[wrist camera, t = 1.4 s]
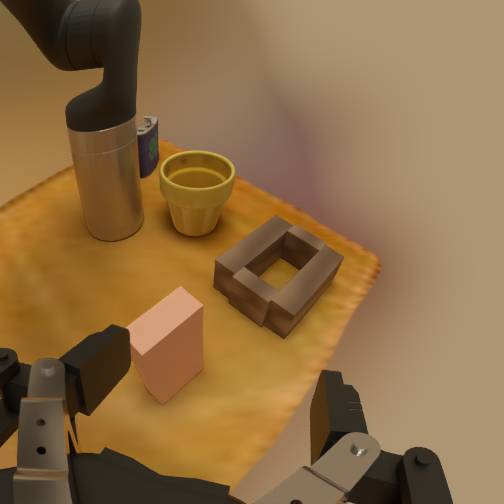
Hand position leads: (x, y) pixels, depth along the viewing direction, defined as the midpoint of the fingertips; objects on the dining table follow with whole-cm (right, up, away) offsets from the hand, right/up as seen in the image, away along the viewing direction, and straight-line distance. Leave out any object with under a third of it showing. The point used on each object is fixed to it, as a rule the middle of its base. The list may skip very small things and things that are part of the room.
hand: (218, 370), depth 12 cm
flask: (-19, +21, +46) cm, 54 cm away
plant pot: (-7, +9, +36) cm, 38 cm away
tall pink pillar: (-7, -8, +18) cm, 21 cm away
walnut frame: (+4, 0, +29) cm, 29 cm away
